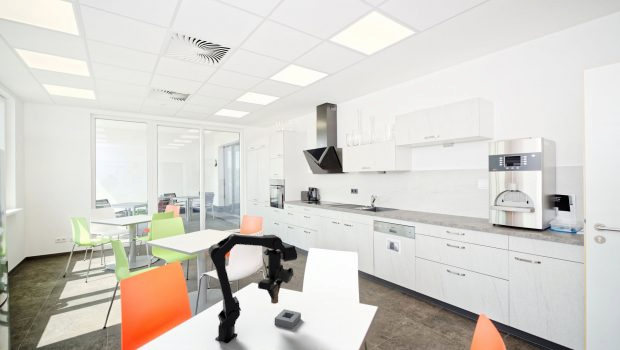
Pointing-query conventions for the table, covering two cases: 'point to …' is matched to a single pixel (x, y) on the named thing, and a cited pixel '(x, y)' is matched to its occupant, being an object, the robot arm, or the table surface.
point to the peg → (275, 296)
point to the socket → (287, 318)
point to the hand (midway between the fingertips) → (274, 297)
